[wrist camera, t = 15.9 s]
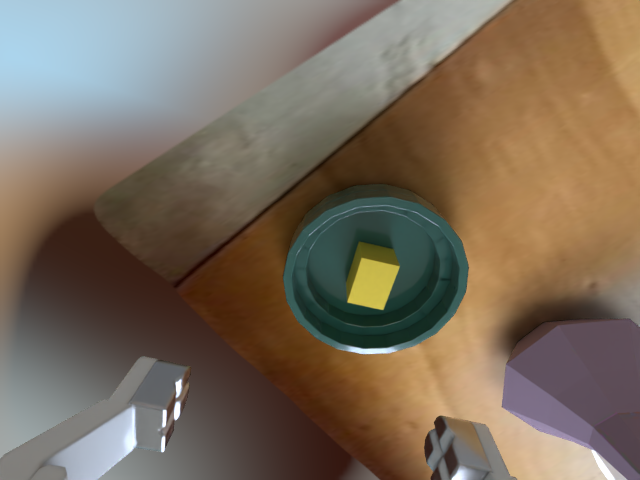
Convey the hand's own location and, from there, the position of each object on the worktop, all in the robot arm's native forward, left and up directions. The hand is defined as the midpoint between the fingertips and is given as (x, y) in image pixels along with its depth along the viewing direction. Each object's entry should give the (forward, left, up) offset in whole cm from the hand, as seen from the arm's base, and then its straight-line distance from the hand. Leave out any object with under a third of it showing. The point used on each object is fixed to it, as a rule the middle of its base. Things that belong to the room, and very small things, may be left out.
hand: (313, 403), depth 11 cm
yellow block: (+6, +6, -22) cm, 24 cm away
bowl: (+6, +6, -23) cm, 25 cm away
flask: (+12, +30, -23) cm, 40 cm away
